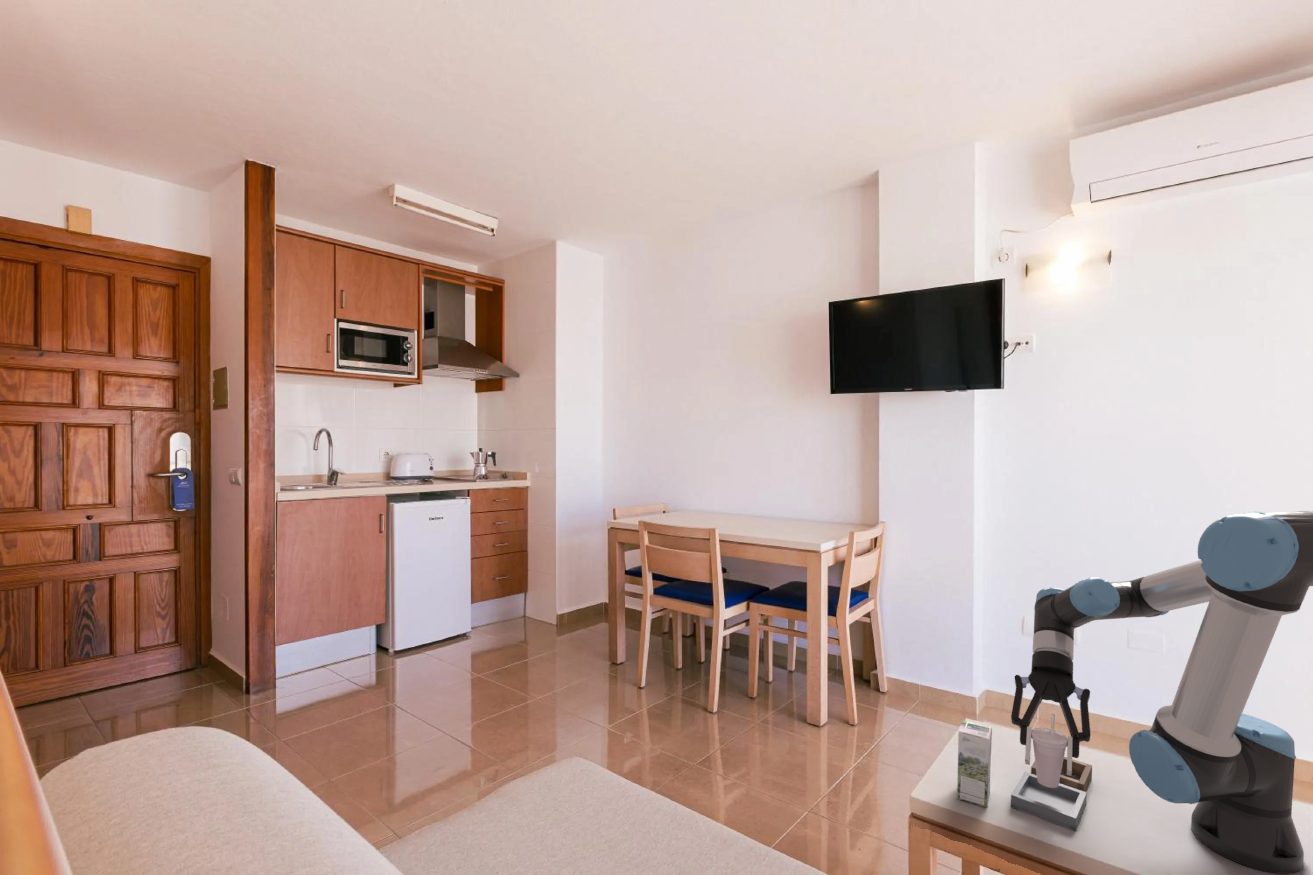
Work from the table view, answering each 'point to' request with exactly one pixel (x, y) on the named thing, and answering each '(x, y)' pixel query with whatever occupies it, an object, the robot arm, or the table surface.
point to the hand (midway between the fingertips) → (1048, 767)
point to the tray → (1049, 801)
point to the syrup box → (974, 763)
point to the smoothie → (1049, 754)
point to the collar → (1077, 770)
